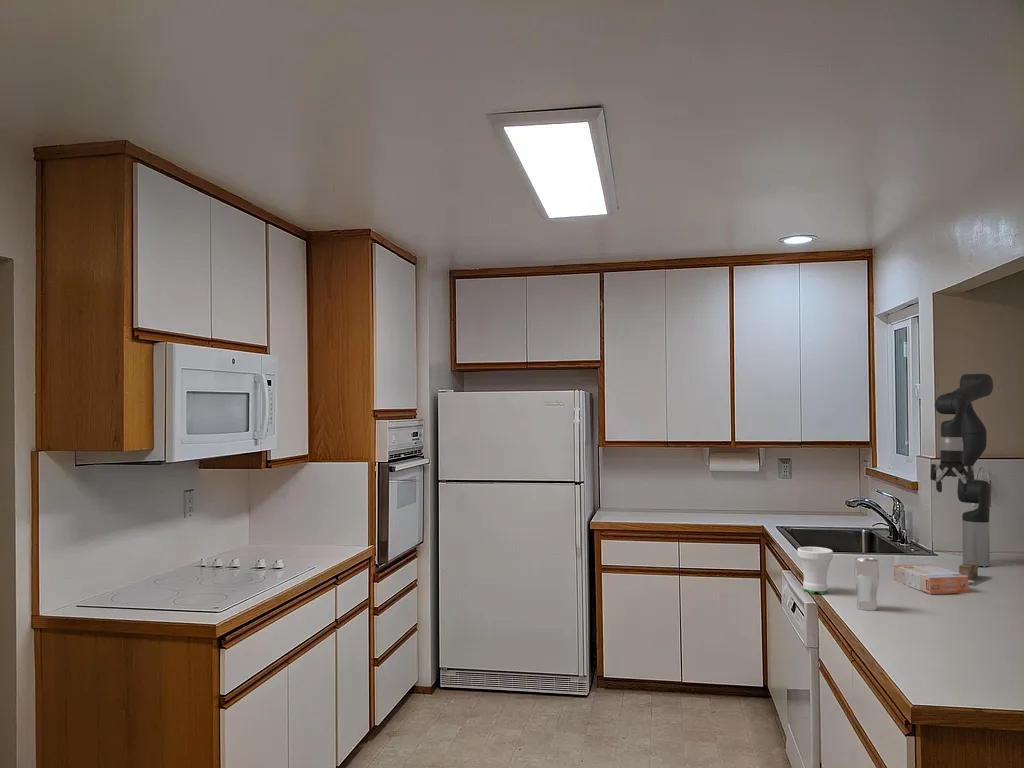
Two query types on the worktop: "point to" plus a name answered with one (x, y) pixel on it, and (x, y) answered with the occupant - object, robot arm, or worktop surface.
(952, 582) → the cracker box
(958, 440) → the robot arm
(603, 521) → the worktop surface
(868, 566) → the beer glass
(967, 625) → the worktop surface
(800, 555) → the cup
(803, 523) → the worktop surface
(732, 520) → the worktop surface
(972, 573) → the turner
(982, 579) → the mat
